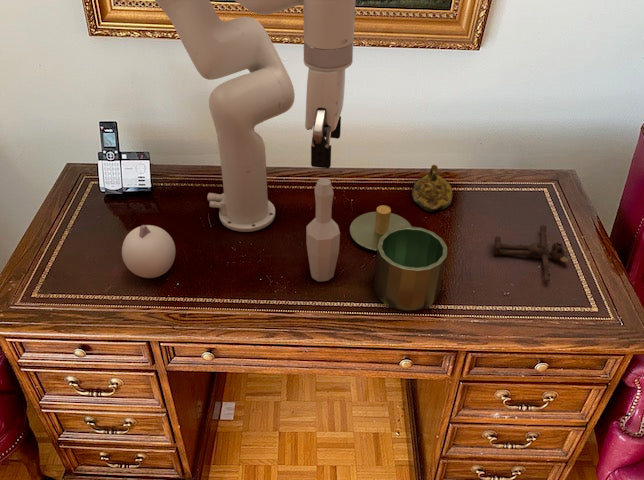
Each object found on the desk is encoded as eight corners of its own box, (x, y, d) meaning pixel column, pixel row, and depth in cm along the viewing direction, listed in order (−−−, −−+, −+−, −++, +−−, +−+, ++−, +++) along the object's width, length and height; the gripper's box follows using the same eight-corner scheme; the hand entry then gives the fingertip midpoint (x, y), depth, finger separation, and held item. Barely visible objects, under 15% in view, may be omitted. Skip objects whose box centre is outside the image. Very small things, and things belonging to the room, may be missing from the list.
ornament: (165, 292, 124) (155, 245, 116) (118, 282, 127) (105, 235, 118) (186, 259, 131) (178, 212, 123) (141, 251, 134) (131, 204, 125)
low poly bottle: (315, 288, 124) (316, 195, 109) (300, 269, 128) (300, 177, 113) (343, 278, 126) (348, 186, 111) (328, 260, 130) (331, 168, 115)
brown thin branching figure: (495, 213, 136) (568, 216, 132) (493, 229, 138) (564, 233, 135) (495, 268, 123) (575, 273, 120) (493, 284, 126) (571, 289, 122)
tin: (370, 306, 120) (374, 265, 113) (377, 263, 129) (382, 223, 122) (436, 315, 118) (445, 274, 111) (440, 272, 127) (448, 230, 120)
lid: (344, 250, 132) (346, 225, 128) (354, 212, 142) (356, 187, 137) (410, 258, 130) (414, 233, 125) (415, 219, 140) (419, 194, 135)
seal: (452, 219, 141) (449, 181, 152) (458, 202, 138) (454, 164, 148) (411, 212, 141) (410, 175, 152) (416, 195, 138) (415, 158, 148)
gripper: (314, 28, 102) (314, 124, 114) (291, 74, 90) (293, 176, 102) (360, 31, 101) (355, 128, 113) (343, 78, 89) (339, 181, 101)
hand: (326, 151), depth 107 cm, fingers open, 9 cm apart
